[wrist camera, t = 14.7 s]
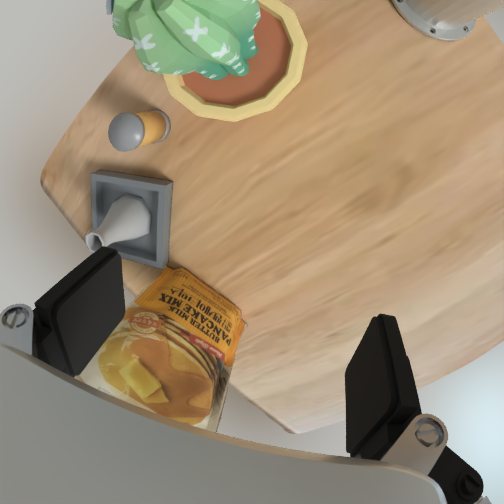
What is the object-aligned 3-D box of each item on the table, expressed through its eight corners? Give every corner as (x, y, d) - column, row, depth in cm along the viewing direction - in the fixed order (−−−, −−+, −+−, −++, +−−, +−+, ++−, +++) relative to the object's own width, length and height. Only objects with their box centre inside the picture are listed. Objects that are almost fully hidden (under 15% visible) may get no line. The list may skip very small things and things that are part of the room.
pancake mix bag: (239, 342, 52) (189, 489, 27) (148, 277, 49) (47, 402, 25) (262, 321, 49) (218, 483, 24) (165, 250, 46) (51, 382, 22)
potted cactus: (302, 3, 28) (284, -121, 6) (312, 117, 34) (317, 126, 12) (183, 19, 31) (48, -42, 9) (191, 125, 37) (50, 161, 15)
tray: (99, 169, 42) (90, 173, 40) (173, 181, 41) (165, 185, 39) (102, 243, 48) (94, 249, 46) (168, 261, 47) (162, 269, 45)
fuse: (143, 109, 37) (109, 112, 30) (172, 111, 37) (142, 113, 30) (140, 140, 39) (107, 149, 32) (168, 144, 39) (139, 153, 32)
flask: (147, 191, 42) (108, 215, 33) (156, 237, 45) (122, 269, 36) (109, 195, 43) (68, 218, 35) (118, 238, 47) (82, 267, 38)
